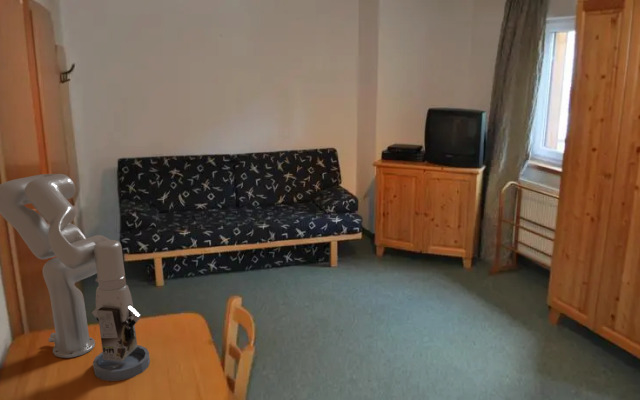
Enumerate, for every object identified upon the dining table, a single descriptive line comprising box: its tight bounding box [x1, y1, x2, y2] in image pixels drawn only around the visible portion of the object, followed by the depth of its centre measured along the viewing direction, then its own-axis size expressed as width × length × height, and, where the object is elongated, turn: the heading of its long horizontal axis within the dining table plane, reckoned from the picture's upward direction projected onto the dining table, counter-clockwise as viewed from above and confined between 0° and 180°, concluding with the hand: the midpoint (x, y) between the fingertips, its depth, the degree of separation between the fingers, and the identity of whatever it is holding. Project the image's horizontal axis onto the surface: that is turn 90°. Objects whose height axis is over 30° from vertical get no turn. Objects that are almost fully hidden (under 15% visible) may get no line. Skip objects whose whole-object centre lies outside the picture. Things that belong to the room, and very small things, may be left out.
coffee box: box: [98, 308, 138, 362], centre depth 169 cm, size 9×6×16 cm
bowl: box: [92, 344, 151, 382], centre depth 172 cm, size 16×16×3 cm
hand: (119, 337), depth 170 cm, fingers closed on coffee box, 6 cm apart
